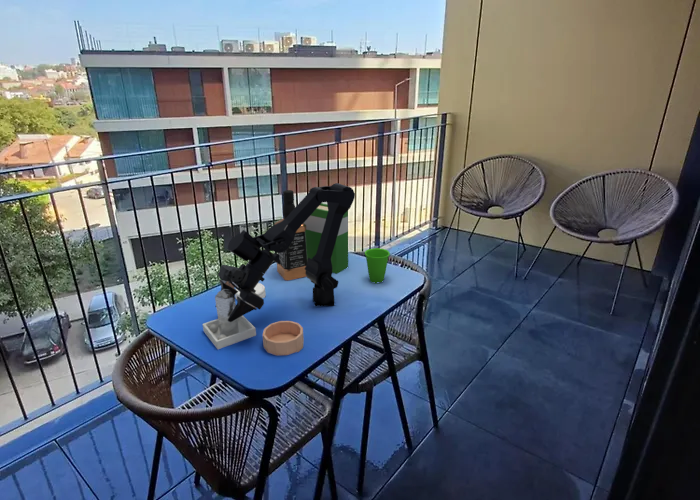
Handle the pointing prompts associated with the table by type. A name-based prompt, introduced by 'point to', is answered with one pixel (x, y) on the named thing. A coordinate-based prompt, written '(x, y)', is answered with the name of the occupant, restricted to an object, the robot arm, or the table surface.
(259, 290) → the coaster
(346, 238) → the hardback book
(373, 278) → the cup
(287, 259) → the whiskey bottle
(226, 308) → the silver ball-topped cylinder
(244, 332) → the tray
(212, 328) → the pebble
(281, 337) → the bowl
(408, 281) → the table surface
